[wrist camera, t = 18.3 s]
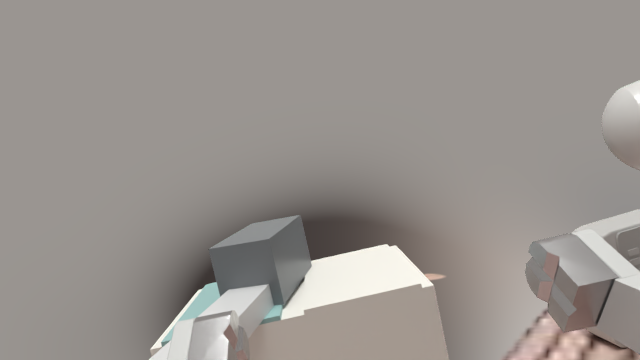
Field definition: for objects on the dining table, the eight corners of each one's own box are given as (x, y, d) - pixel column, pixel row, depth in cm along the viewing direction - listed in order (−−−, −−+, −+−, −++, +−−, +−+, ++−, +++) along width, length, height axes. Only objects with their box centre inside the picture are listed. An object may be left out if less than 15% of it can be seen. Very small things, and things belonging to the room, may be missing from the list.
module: (223, 388, 23) (199, 292, 22) (139, 394, 24) (115, 303, 24) (311, 266, 44) (300, 214, 43) (263, 273, 45) (251, 223, 45)
